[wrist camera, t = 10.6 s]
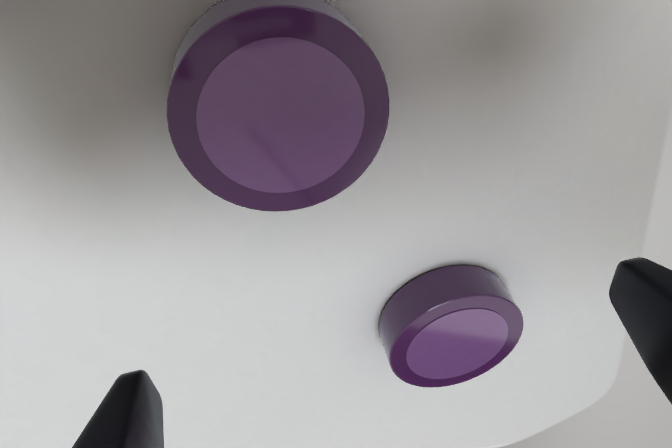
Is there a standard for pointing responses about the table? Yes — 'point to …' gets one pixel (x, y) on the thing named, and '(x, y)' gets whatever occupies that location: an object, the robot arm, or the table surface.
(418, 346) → the bottom dish
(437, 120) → the table surface
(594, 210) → the table surface
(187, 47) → the top dish
